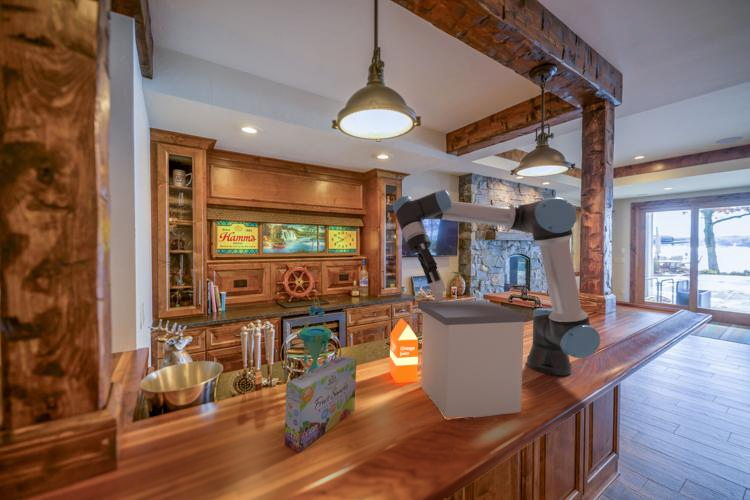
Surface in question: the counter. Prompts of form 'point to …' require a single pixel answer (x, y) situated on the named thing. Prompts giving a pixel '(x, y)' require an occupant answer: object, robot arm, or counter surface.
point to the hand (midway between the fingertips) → (441, 297)
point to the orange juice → (403, 353)
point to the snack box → (319, 401)
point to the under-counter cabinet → (472, 357)
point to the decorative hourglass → (315, 339)
